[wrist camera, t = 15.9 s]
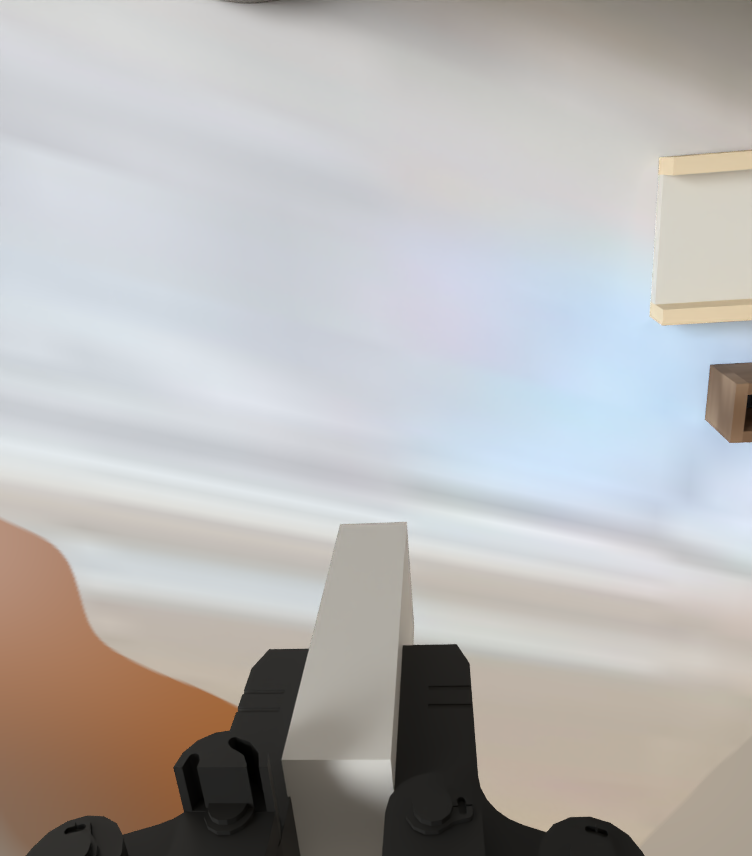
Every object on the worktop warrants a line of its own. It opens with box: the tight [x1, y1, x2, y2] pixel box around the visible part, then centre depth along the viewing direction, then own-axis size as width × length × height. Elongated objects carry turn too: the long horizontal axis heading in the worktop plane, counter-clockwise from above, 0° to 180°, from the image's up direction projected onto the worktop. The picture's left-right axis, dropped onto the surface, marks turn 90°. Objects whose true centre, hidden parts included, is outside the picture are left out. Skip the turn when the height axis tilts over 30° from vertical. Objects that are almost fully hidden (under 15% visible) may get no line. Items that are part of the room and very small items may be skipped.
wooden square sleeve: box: [705, 363, 752, 443], centre depth 37 cm, size 3×3×4 cm
